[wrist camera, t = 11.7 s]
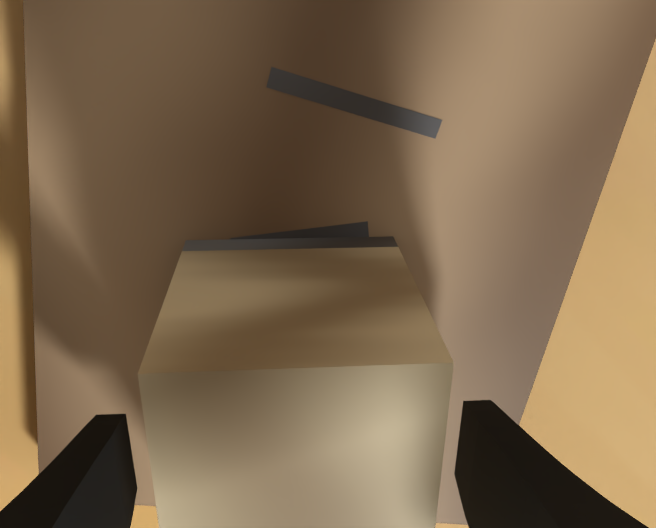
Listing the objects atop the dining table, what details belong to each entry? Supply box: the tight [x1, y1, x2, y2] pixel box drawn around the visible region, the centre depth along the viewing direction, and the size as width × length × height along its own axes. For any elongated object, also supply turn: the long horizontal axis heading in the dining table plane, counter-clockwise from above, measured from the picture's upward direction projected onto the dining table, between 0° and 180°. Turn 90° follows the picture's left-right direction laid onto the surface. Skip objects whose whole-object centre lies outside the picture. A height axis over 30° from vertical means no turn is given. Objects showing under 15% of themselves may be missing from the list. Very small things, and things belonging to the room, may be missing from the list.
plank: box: [23, 0, 656, 525], centre depth 13 cm, size 12×22×1 cm, turn 171°
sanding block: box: [138, 236, 454, 528], centre depth 13 cm, size 4×8×5 cm, turn 179°
